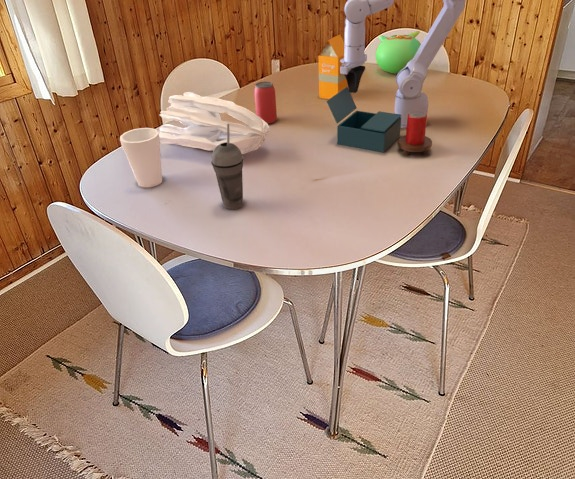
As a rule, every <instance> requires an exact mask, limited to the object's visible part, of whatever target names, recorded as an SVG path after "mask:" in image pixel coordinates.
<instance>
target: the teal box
mask: <svg viewBox="0 0 575 479" xmlns="http://www.w3.org/2000/svg"><path fill="white" fill-rule="evenodd" d="M336 130H337V132H336V135H337V136H336V137H337V138H336V145H338V146H344V147H349V148H355V149H359V150H366V151H371V152H377V153H381V154H384V153H385V152H386V151H387V150H388V149H389V148H390V147H391V146H392V144H394V142H395V141H396V140H398V139H399V138H400V137H401V130H402V128H401V115H400V114H394V112H387V111H380V110H379V111H378V112H376V113H375V112H368V111H362V110H354V111H353V113H351V115H350V114H349V115H348V116H347V117H346V119H345V118H344V119H343V120H342V121H341V122H339V123H338V125H337V128H336Z"/></svg>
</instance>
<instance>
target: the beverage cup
mask: <svg viewBox="0 0 575 479" xmlns="http://www.w3.org/2000/svg"><path fill="white" fill-rule="evenodd" d="M210 162H211V166H212V168H213V170H214V173H215V176H216V180H217V184H218V188H219V193H220V198H221V201H222V204H223V207H224V208H225V209H226V210H231V211H232V210H237V209H240V208H242V207H243V204H244V202H243V200H244V187H243V185H244V184H243V183H244V182H243V168H244V157H243V154H241V151H240V149H239V148H238V147H237V146H236V145H234V144H232V143H229V124H227V142H225V143H221V144H219V145H218V146H217V147H216V148H215V149H214V151H213V150H212V153H211V161H210Z"/></svg>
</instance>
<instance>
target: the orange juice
mask: <svg viewBox="0 0 575 479" xmlns="http://www.w3.org/2000/svg"><path fill="white" fill-rule="evenodd" d="M344 45H345V44H344V38H343V36H342V35H341V33H339V34H337V35H335V36H332V37H331V38H328V40H327V41H326V42H325V44H324V46H323V47H322V49H321V51H320V52H319V53H318V98H319V99H323V100H324V99H325V100H329V99H330V98H332V97H333V96H334V95H336V94H337V93H339V92H340V91H341V90H343V89H344V88H346V87H348V84H347V80H346V78H345V75H344V74H340V67H341V66H342V64H343V63H342V62H341V59H343V58H344Z"/></svg>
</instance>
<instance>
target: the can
mask: <svg viewBox="0 0 575 479" xmlns="http://www.w3.org/2000/svg"><path fill="white" fill-rule="evenodd" d="M426 123H427V124H428V113H427V114H426V113H424V112H420V111H414V112H410V113H409V114H408V118H407V127H406V129H405V130H406V131H405V135H406V140H405V141H406V142H407V143H409V144H413V145H419V144H422V143H424V141H425V136H426V133H427V132H426V131H427V125H426Z"/></svg>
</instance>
